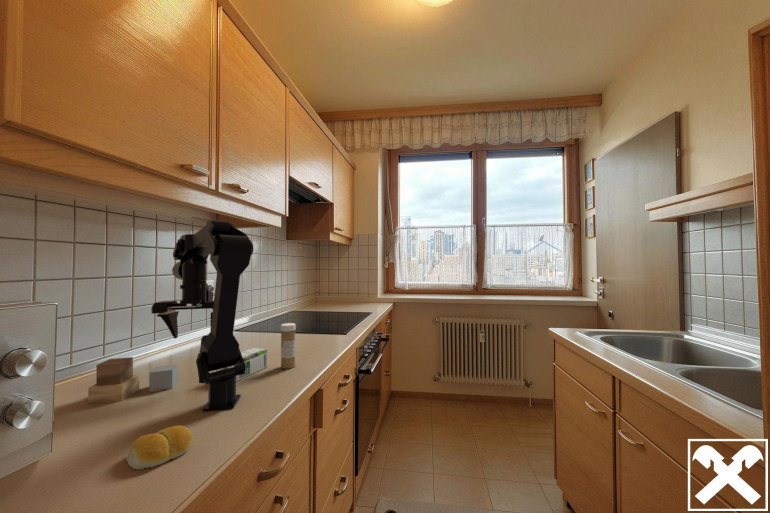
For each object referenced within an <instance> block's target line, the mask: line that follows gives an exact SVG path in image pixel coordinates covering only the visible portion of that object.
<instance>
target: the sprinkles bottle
mask: <svg viewBox="0 0 770 513" xmlns="http://www.w3.org/2000/svg"><path fill="white" fill-rule="evenodd" d="M280 335H281V336H280V357H281V358H280V363H281V364H280V368H281V369H292V368H294V367H296V323H294V322H287V323H282V324H280Z"/></svg>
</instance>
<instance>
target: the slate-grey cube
mask: <svg viewBox="0 0 770 513" xmlns="http://www.w3.org/2000/svg"><path fill="white" fill-rule="evenodd" d="M148 374H149V376H148V377H149V379H148V380H149V385H148V387H149V388H148V390H149V391H148V392H149V393H150V392H151V391H152V392H158V391H157V390H159V391H164V390H163V389H167V390H172V388H173V389H174V387H175V386H176V385H177V383H178V364H177V363H176V364H168V365H160V366H155V367H154V368H152V370H150V371H149V373H148ZM175 384H176V385H175Z"/></svg>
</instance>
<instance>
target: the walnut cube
mask: <svg viewBox="0 0 770 513" xmlns="http://www.w3.org/2000/svg"><path fill="white" fill-rule="evenodd" d="M95 370H96V375H95V376H96V383H95V384H96V386H101V385H113V384H121V383H123V382H124V381H126V380H128V379H130V378H131V377H133V375H134V357H131V356H130V357H129V356H128V357H117V358H116V357H115V358H109V359H106V360H104V361H102V362H100V363H98V364H96V369H95Z"/></svg>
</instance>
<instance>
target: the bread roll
mask: <svg viewBox="0 0 770 513" xmlns="http://www.w3.org/2000/svg"><path fill="white" fill-rule="evenodd" d="M193 439H194V436H193V433H192V432H191V430H190V428H188V427H186V426H184V425H173V426H169V427H166V428H163V429H161V430H159V431H157V432H156V433H148V434H144V435H142V436H139V437H137V439H135V441H134V442H132V444H131V445H130V446H129V449H128V453H127V457H126V461H127V463H128V465H129V467H130V468H132V469H134V470H145V469H144V468H146V469H149V467H151V468H154V466H155V467H157V465H158V466H160V465H162V464H165V463H166V462H168V461H170V460H171V459H176V458H179V457H181V456H183V455H184V454H186V452H187V451H188V450H189V449H190V447H191V445H192V444H193Z"/></svg>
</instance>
